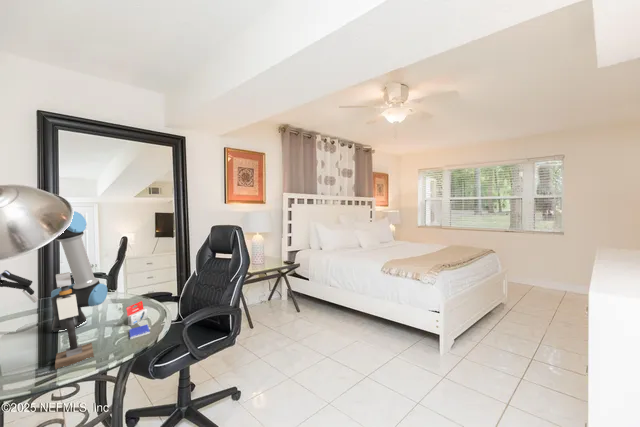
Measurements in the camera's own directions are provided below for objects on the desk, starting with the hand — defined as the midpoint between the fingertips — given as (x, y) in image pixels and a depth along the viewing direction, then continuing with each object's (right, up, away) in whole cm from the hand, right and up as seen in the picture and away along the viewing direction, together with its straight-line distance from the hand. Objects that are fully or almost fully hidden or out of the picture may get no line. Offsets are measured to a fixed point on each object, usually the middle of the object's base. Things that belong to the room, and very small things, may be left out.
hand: (17, 310), depth 121 cm
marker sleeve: (+19, -3, +3) cm, 19 cm away
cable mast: (+21, -21, +4) cm, 30 cm away
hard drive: (+35, -20, +24) cm, 47 cm away
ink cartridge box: (+25, -20, +41) cm, 52 cm away
